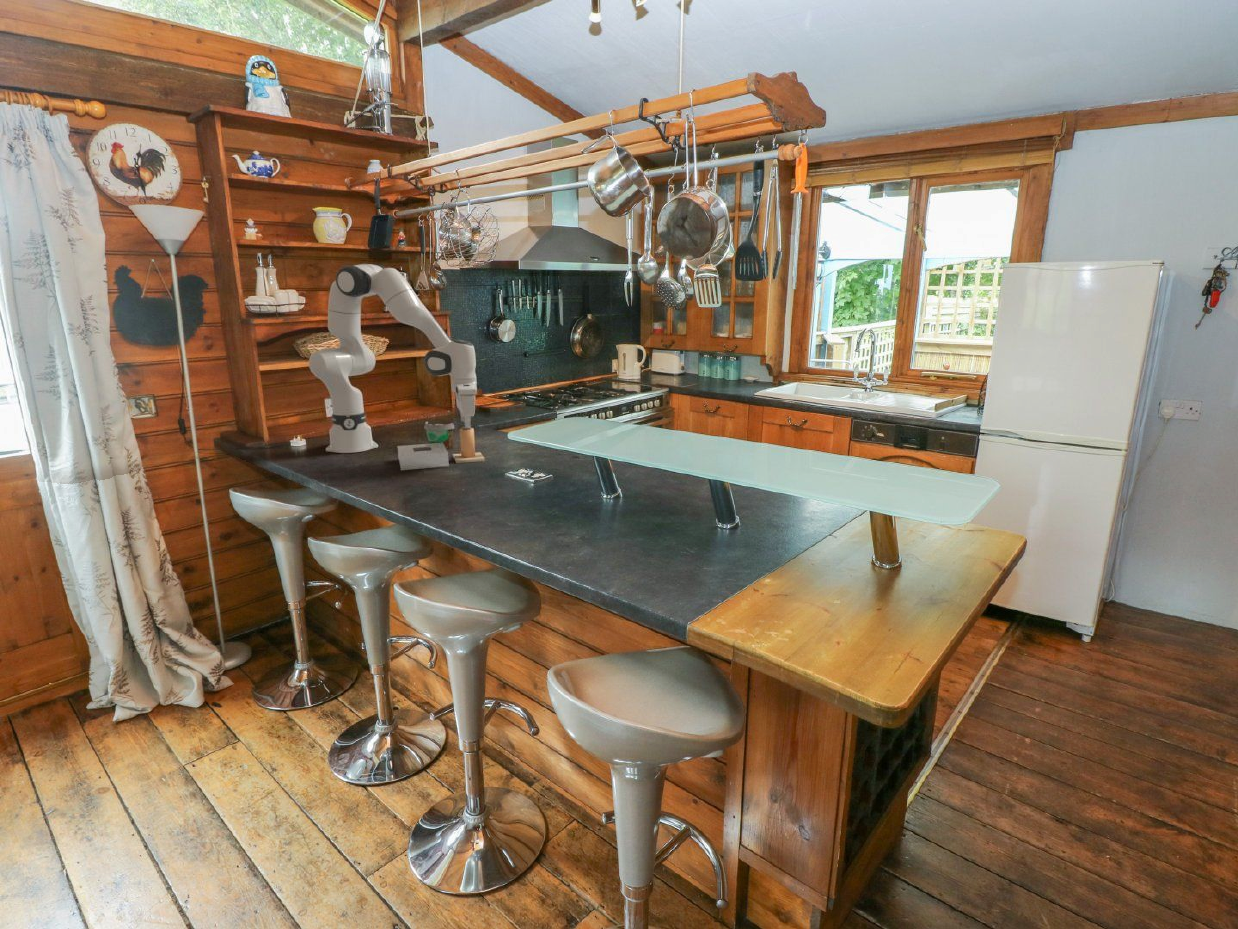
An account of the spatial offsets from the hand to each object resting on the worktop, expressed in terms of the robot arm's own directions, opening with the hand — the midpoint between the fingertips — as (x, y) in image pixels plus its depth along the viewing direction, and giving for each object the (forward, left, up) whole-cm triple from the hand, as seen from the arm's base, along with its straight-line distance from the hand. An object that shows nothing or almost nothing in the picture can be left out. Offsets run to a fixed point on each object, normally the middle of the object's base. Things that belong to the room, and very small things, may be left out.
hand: (465, 424), depth 240 cm
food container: (-20, -9, -13) cm, 25 cm away
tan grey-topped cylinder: (0, 0, -12) cm, 12 cm away
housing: (0, -16, -13) cm, 20 cm away
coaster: (0, 0, -13) cm, 13 cm away
